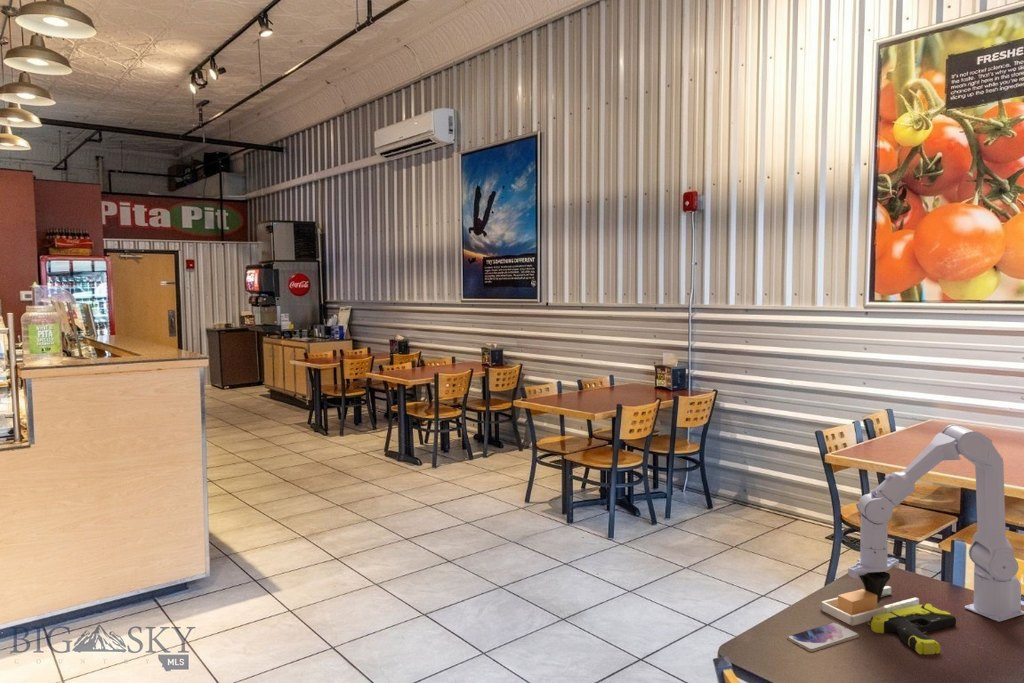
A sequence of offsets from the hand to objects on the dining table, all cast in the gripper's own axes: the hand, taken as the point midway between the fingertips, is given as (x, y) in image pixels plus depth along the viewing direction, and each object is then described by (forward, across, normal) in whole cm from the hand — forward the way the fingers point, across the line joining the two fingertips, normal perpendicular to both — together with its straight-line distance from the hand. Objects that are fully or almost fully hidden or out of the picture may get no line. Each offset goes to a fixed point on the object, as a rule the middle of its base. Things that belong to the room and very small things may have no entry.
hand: (873, 601), depth 162 cm
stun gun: (+2, +1, +14) cm, 14 cm away
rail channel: (+1, -4, 0) cm, 5 cm away
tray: (+1, +7, 0) cm, 7 cm away
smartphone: (+2, +22, +6) cm, 23 cm away
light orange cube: (+1, +3, 0) cm, 4 cm away
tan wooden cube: (+1, +7, 0) cm, 7 cm away
